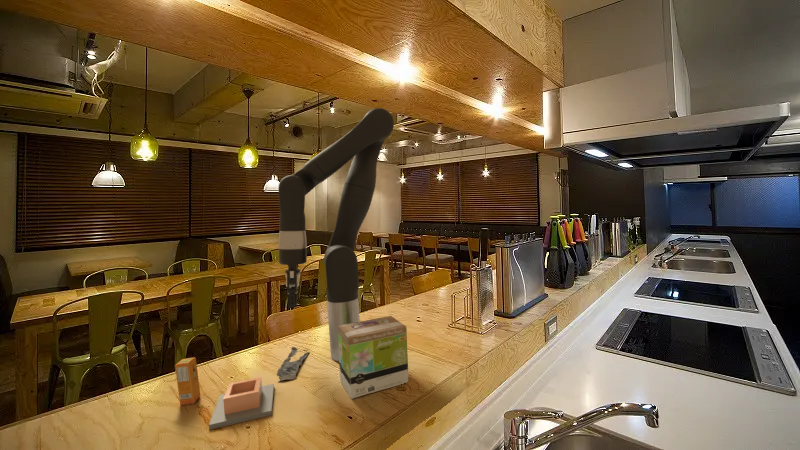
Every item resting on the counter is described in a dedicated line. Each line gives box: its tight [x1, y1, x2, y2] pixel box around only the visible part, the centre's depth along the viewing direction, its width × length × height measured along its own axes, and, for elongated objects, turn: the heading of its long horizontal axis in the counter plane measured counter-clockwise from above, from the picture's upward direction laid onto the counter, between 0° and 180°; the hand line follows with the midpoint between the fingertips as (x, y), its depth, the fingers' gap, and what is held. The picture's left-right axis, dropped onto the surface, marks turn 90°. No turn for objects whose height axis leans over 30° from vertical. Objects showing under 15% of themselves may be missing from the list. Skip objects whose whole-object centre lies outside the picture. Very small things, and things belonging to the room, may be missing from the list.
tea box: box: [338, 315, 409, 400], centre depth 83 cm, size 15×10×15 cm
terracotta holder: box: [223, 376, 263, 415], centre depth 75 cm, size 7×7×4 cm
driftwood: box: [276, 346, 310, 382], centre depth 96 cm, size 21×7×2 cm, turn 2°
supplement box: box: [174, 357, 201, 406], centre depth 79 cm, size 3×3×10 cm
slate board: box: [208, 383, 275, 430], centre depth 75 cm, size 12×12×1 cm
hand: (293, 303), depth 94 cm, fingers open, 8 cm apart
